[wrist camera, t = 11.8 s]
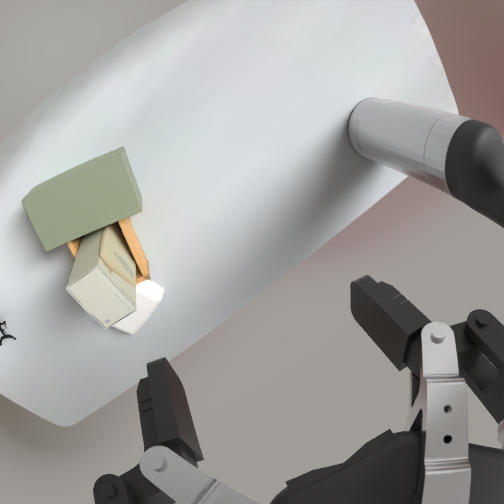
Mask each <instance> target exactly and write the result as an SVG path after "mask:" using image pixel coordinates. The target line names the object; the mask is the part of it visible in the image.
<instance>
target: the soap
mask: <svg viewBox="0 0 504 504" xmlns="http://www.w3.org/2000/svg"><path fill="white" fill-rule="evenodd" d="M163 295H164V289H163V288H162V287H160V286H159V285H158V284H156V283H155V282H153V281H152V282H151V281H150V280H146V281H143V282H140V283H138V284H136V309H137V310H136V311H135V312H134V313H132V314H131V315H129V316H128V317H126V318H125V319H123V320H121V321H120V322H118V323H116V324H115V325H113V326H112V327H114V328H116V329H119V330H121V331H123V332H126V333H129V334H132V335H134V334H135V333H136V332H137V331H138V330H139V329H140V328H141V327H142V325H143V324H144V323H145V322H146V321H147V320H148V318H149V317H150V316H151V314H152V313H153V312H154V310H155V309H156V307H157V306H158V305H159V303H160V301H161V300H162V297H163Z"/></svg>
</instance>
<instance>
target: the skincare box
mask: <svg viewBox="0 0 504 504" xmlns="http://www.w3.org/2000/svg"><path fill="white" fill-rule="evenodd" d="M66 290H67V291H68V292H69V293H70V295H71V296H72V297H73V298H74V299H75V300H76V301H77V302H78V303H79V304H80V305H81V306H82V308H83V309H84V310H85V311H86V312H87V313H88V314H90V315H91V316H92V317H93V318H94V319H95V320H96V321H97V322H98V323H99V324H100V325H101V326H102V327H103V328H104V329H105V330H106V329H108V328H109V327H111V326H113V325H115V324H116V323H118V322H120V321H121V320H123V319H125V318H126V317H128V316H129V315H131V314H132V313H134V312H135V311H136V310H137V309H136V260H135V258H134V256H133V254H132V252H131V249H130V247H129V245H128V243H127V241H126V238H125V236H124V235H123V233H122V232H121V231H120V229H119V228H118V226H117V225H116V224H115V222H114V223H112V224H109V225H107V226H104V227H102V228H100V229H97V230H95V231H92V232H90V233H88V234H85V235H83V238H82V241H81V244H80V246H79V249H78V252H77V255H76V258H75V261H74V264H73V267H72V270H71V274H70V277H69V280H68V283H67V286H66Z"/></svg>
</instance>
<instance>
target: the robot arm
mask: <svg viewBox="0 0 504 504" xmlns="http://www.w3.org/2000/svg"><path fill="white" fill-rule="evenodd" d="M349 138H350V141H351V144H352V146H353V148H354V149H355V151H356V152H357V153H359V154H360V155H361V156H363V157H366V158H368V159H371V160H373V161H375V162H378V163H380V164H382V165H385V166H387V167H390V168H392V169H394V170H397V171H399V172H401V173H404V174H406V175H408V176H410V177H413V178H415V179H417V180H419V181H421V182H424V183H426V184H428V185H430V186H432V187H434V188H436V189H438V190H440V191H442V192H445V193H446V194H449V195H450V196H452V197H454V198H456V199H458V200H460V201H462V202H464V203H465V204H467V205H468V206H469V207H471V208H472V209H474V210H475V211H477V212H479V213H481V214H482V215H484V216H486V217H487V218H489V219H491V220H492V221H494V222H495V223H497V224H498V225H500V226H501V227H503V228H504V144H503V141H502V138H501V136H500V134H499V133H498V131H497V130H496V129H495V128H494V127H492V126H491V125H489V124H487V123H484V122H481V121H478V120H474V119H471V118H467V117H463V116H460V115H456V114H452V113H448V112H444V111H440V110H435V109H431V108H427V107H422V106H417V105H412V104H407V103H402V102H396V101H391V100H385V99H378V98H368V99H365V100H363V101H362V102H360V103H359V104H358V105H357V106H356V107H355V109H354V111H353V112H352V114H351V117H350V120H349ZM350 287H351V312H352V315H353V317H354V319H355V320H356V321H357V323H358V324H359V325H360V326H361V327H362V328H363V329H364V331H365V332H366V333H367V334H368V335H369V336H370V337H371V338H372V340H373V341H374V342H375V343H376V344H377V346H378V347H379V348H380V349H381V350H382V351H383V352H384V354H385V355H386V356H387V357H388V358H389V360H390V361H391V362H392V363H393V364H394V366H395V367H396V368H397V369H398V370H399V371H401V370H402V369H404V368H405V367H408V368H409V369H410V370H411V371H410V394H409V395H410V396H409V413H408V418H407V422H406V429H405V431H402V432H397V433H392V431H391V430H390V429H389V430H387V431H385V432H384V433H382V434H381V435H379V436H377V437H376V438H374V439H372V440H370V441H369V442H367V443H366V444H364V445H363V446H362V447H361V448H360V449H359V450H358V451H357V452H356V453H355V454H353V455H352V456H351V457H350V458H349V459H348V460H347V461H345V462H344V463H341V464H338V465H334V466H330V467H325V468H320V469H316V470H312V471H310V472H307V473H305V474H303V475H301V476H298V477H296V478H294V479H291V480H289V481H286V484H287V487H286V488H285V489H283V490H282V491H281V492H280V493H279V494H277V495H276V497H275V498H274V499H273V500H272V501H271V503H270V504H504V326H503V325H502V324H501V323H500V322H499V321H498V320H497V319H496V318H495V317H494V316H493V315H492V314H491V313H490V312H488V311H486V310H481V309H478V310H474V311H472V312H471V313H470V314H469V316H468V318H467V321H466V322H462V323H459V324H455V325H452V326H448V325H447V324H444V323H441V322H431V321H430V320H429V319H428V318H427V317H426V316H425V315H424V314H423V313H422V312H420V311H419V310H418V309H417V308H416V307H415V306H414V305H413V304H412V303H411V302H410V301H407V299H406V298H405V297H404V296H403V295H401V294H400V292H399V291H398V290H396V289H395V288H394V287H393V286H391V285H389V284H387V283H384V282H382V281H381V282H379V283H376V281H374V280H373V279H372V278H371V277H370V276H368V275H366V276H364V277H361V278H359V279H357V280H355V281H353V282H351V286H350ZM483 354H484V355H485V356H486V357H487V358H486V357H485V356H484V355H483ZM489 361H490V362H491V363H492V364H493V365H494V366H495V367H494V366H493V365H492V364H491V363H490V362H489ZM147 371H148V377H146V378H143V379H140V382H139V385H138V388H137V399H138V404H139V405H138V407H139V412H140V422H141V428H142V435H143V441H144V454H143V455H142V457H141V459H140V462H139V464H138V465H137V466H135V467H134V468H133V469H131V470H129V471H128V472H126V473H124V474H122V475H121V476H119V477H118V476H116V475H113V474H106V475H103V476H101V477H100V478H99V479H98V480H97V481H96V482H95V485H94V488H93V494H94V499H95V504H174V503H176V502H177V503H179V504H259V503H257V502H255V501H253V500H251V499H249V498H248V497H246V496H244V495H242V494H240V493H238V492H237V491H235V490H233V489H232V488H230V487H228V486H226V485H225V484H223V483H221V482H220V481H217V480H216V479H214V478H212V477H210V476H209V475H207V474H205V473H204V472H202V471H201V470H199V469H198V465H197V462H198V461H201V460H203V459H204V458H203V455H202V452H201V449H200V445H199V442H198V439H197V435H196V431H195V428H194V424H193V421H192V417H191V413H190V409H189V405H188V402H187V398H186V394H185V390H184V388H183V385H182V383H181V381H180V379H179V377H178V376H177V374H176V373H175V371H174V370H173V368H172V367H171V365H170V364H169V362H168V361H167V359H166V358H165V357H164V358H161V359H158V360H155V361H152V362H149V363H147ZM465 382H466V383H465ZM466 384H468V386H469V387H470V388H471V390H472V391H473V392H474V393H475V394H476V396H477V397H478V398H479V400H480V401H481V402H482V403H483V405H484V406H485V407H486V409H487V410H488V411H489V413H490V414H491V415H492V416H493V418H494V419H495V420H496V422H497V423H498V424H499V426H498V441H499V442H500V443H501V444H502V449H497V448H492V447H486V446H481V445H476V444H471V443H468V411H467V395H466Z"/></svg>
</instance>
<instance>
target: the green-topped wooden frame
mask: <svg viewBox="0 0 504 504" xmlns="http://www.w3.org/2000/svg"><path fill="white" fill-rule="evenodd" d="M21 202H22V204H23V206H24V208H25V211H26V213H27V215H28V217H29V219H30V221H31V223H32V225H33V227H34V229H35V231H36V233H37V235H38V237H39V239H40V241H41V243H42V245H43V247H44V248H45V250H46V252H47V251H49V250H51V249H54V248H56V247H58V246H60V245H63V244H65V243H67V245H68V247H69V248H70V250H71V252H72V254H73V256H74V258H76V255H77V252H78V249H79V246H80V244H81V241H82V237H81V236H83V235H85V234H88V233H90V232H92V231H95V230H97V229H100V228H102V227H104V226H107V225H109V224H112V223H114V222H117V221H118V222H119V225H120V227H121V229H122V232H123V234H124V236H125V238H126V241H127V243H128V245H129V247H130V249H131V252H132V254H133V256H134V258H135V260H136V284H138V283H140V282H143V281H146V280H148V279H150V276H149V267H148V261H147V259H146V257H145V254H144V252H143V250H142V248H141V245H140V243H139V241H138V239H137V236H136V234H135V232H134V229H133V227H132V224H131V222H130V220H129V216H132V215H134V214H137V213H139V212H142V198H141V194H140V191H139V188H138V186H137V183H136V180H135V177H134V175H133V172H132V169H131V166H130V163H129V160H128V158H127V155H126V152H125V149H124V147H121V148H119V149H116V150H114V151H111V152H109V153H106V154H104V155H101V156H99V157H97V158H94V159H92V160H90V161H87V162H85V163H83V164H81V165H78V166H76V167H74V168H72V169H70V170H68V171H65V172H63V173H61V174H59V175H57V176H55V177H53V178H51V179H49V180H47V181H45V182H43V183H41V184H39V185H37V186H35V187H34V188H33V189H32V190H31V191H30V192H29V193H28V194H27V195H26V196H25V197H24V198H23V200H22V201H21Z"/></svg>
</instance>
